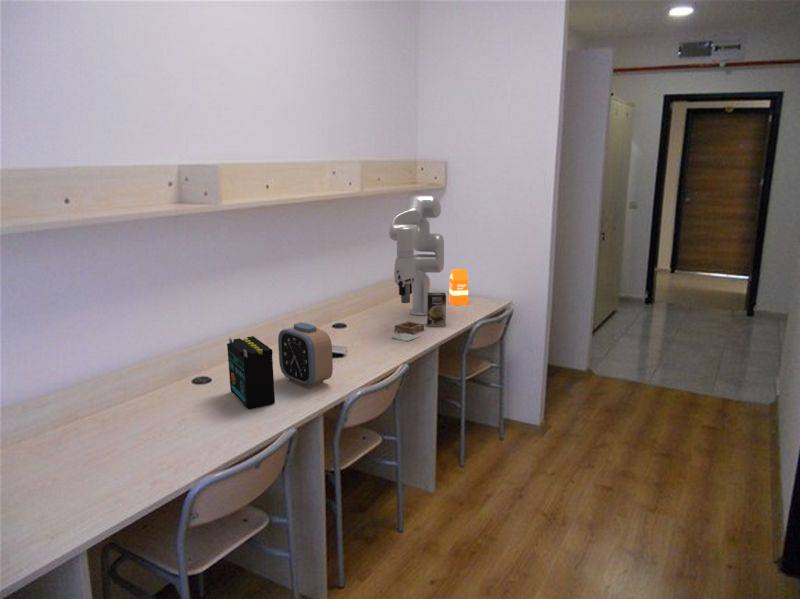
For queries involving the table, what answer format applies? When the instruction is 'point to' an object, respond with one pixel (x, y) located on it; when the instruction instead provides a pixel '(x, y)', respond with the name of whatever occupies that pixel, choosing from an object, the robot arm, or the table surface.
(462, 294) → the orange juice
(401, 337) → the mat
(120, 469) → the table surface
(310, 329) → the alarm clock
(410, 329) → the socket block
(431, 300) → the coffee box
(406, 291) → the plug
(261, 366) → the battery
